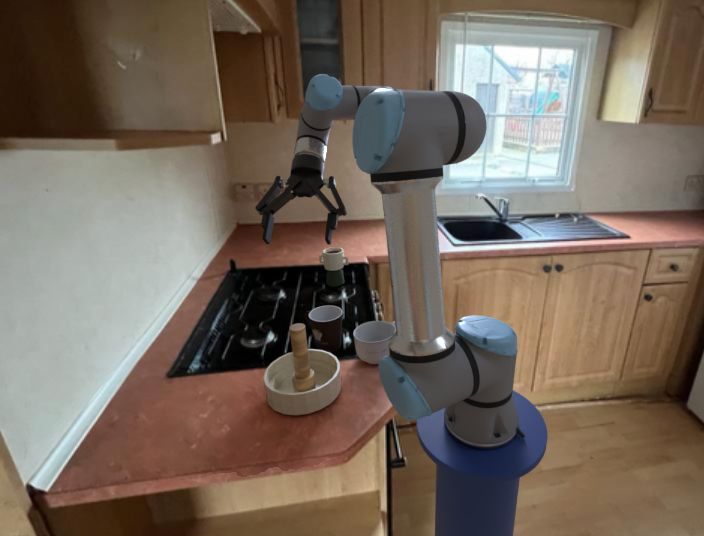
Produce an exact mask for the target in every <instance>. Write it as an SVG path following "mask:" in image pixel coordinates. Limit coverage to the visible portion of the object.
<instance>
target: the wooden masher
mask: <svg viewBox="0 0 704 536" xmlns="http://www.w3.org/2000/svg"><path fill="white" fill-rule="evenodd" d="M289 337H290V344H291V352H293V360H294V368H295V372H294V373H293V374H292V382H293V390H294V393H299V392H306V391H309V390H313V389H315V388H316V385H315V376H314V371H313V370H312V369H310V365H309V356H308V349H309V348H308V338H307V331H306V325H305V323H300V322H298V323H294V324H291V325H290V326H289Z"/></svg>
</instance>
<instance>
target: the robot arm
mask: <svg viewBox="0 0 704 536" xmlns="http://www.w3.org/2000/svg"><path fill="white" fill-rule="evenodd" d="M340 120H341V121H343V120H345V121H346V120H348V121H349V120H353V126H352V135H351V136H352V137H351V138H352V140H351V141H352V152H353V153H352V154H353V158H354V159H355V163H356V165H357V167H358V169H359V170H360V171H361V172H363V173H366V174H369V175H370V176H369V177H370V185H371V186H372V187H374V188H375V189H376V190H377V191H378V192H379V193H380V195H381V200H382V209H383V219H384V230H385V238H386V248H387V250H386V251H387V257H388V258H387V259H388V268H389V278H390V287H391V288H390V289H391V296H392V297H391V298H392V307H393V316H394V317H393V318H394V321H395V327H396V332H395V333H394V334H393V335H392V336H391V337H390V339H389V341H388V345H389V356H384V357H383V358H382V359H381V360H380V361H379V364H377V368H378V370H377V371H378V374H379V379H380V383H381V386H382V388H383V390H384V393H385V395H386V396H387V399H388V401H389V403H390V404H391V406H392V407H393V408H394V410H395V411H396V413H398V415H400V416H401V417H402V418H403V419H405V420H407V421H411V422H412V421H413V422H414V421H417V419H419V418H422V417H425V416H431V415H432V413H435V412H437V411H439V410H441V409H444V408H445V411H444V424H445V427H446V430H447V431H448V433H449V434H450V436H451V437H452V438H453V439H455V440H456V441H457V442H459V443H460V444H462V445H464V446H466V447H469V448H472V449H476V450H483V451H490V450H497V449H500V448H503V447H505V446H507V445H509V444H510V443H511V442H512V441H513V440H514V439H515V437H516V435H517V433H518V434H519V435H520V436H521V437H522V438H524V437H525V435H524V434H523V433H522V432H521V431H520V429H519V428H518V426H519V419H518V413H517V410H516V406H515V403H514V399H513V396H512V392H513V390H514V383H515V374H516V373H515V372H516V364H517V355H518V336H517V333H516V331H515V330H514V328H512V327H511V326H510V325H509V324H508V323H506V322H504V321H503V320H500V319H497V318H495V317H490V316H486V315H467V316H466V315H465V316H463V317H461V318H460V319H459V320H458V321H457V323H456V325H455V327H454V330H455V333H454V332H452V330H450V329H449V328H448V327H446V320H445V319H446V317H445V305H444V291H443V279H442V266H441V253H440V252H441V251H440V238H439V224H438V214H437V213H438V211H437V198H436V197H437V196H436V189H437V187H438V185H439V184H440V183H441V182H442V180H444V166H449V165H450V166H451V165H455V164H460V163H463V162H464V161H466V160H469V159H470V158H471V157H472V156H473V155H475V154H476V153H477V152H478V150H479V149H480V148H481V146H482V144H483V143H484V140H485V137H486V135H487V127H488V126H487V125H488V124H487V118H486V113H485V111H484V109H483V107H482V106H481V104H480V103H479V102H478V101H477V100H476V99H475V98H474V97H472V96H471V95H468V94H467V93H464V92H460V91H455V90H418V89H398V88H396V89H394V88H393V87H391V86H385V85H342V84H341V82H340V81H339V80H338V79H337V78H336V77H334V76H330V75H329V74H325V73H320V74H316V75H314V76H313V77H311V79H310V81H309V82H308V85H307V87H306V91H305V94H304V101H303V106H302V109H301V111H300V114H299V118H298V125H297V133H296V139H295V145H294V148H293V149H294V150H293V155H292V161H291V166H290V167H291V168H290V172H289V173H290V175H289V177H288V178H283V177H281V176H280V175H276V176H275V179H274V181H273V184H272V185H271V186H270V188H269V189H268V190H267V191H266V193H265V194H264V195H263V197H262V198H260V200H259V202H258V203H257V205H256V206H255V210H256V212H257V214H259V215H260V216H261V223H260V227H261V228H262V229H263V232H262V238H261V239H262V241H263V242H264V243H265V244H266V245H270V244H271V242H272V241H271V240H272V234H273V229H274V223H275V217H274V215H275V214H276V213H277V212H278V211H280V210H281V209H282V208H284V206H286V205H287V204H288V203H289V202H290V201H292V200H294V199H296V197H297V198H312V197H314V196H315V197H316V198H317V200H319V201H320V203H321V204H322V205H323V206H324V208H326V210H327V211H328V212H327V216H326V224H325V233H324V240H325V242H326V245H328V246H329V245H332V237H333V231H336V230H337V229H338V223H339V217H341V216H343V217H345V216H347V215H348V212H347V209H346V206H345V204H344V202H343V200H342V198H341V196H340V193H339V191H338V189H337V182H336V180H335V177H334V176H333V175H330V176H329V177H328V178H324V174H325V164H326V158H327V157H326V156H327V153H328V152H327V151H328V144H329V143H328V142H329V137H330V132H331V129H332V127H333V125H334V122H335V121H340ZM324 186H326V188H327V189H329V190H330V192H331V195H332V196H333V198H334V200H335V203H336V205H337V207H338V208H337V207H335V206H334V204H333V203H332V202H331V201H330V200H329V199H328V197H327V196H326V195H325V194H324V193H323V192H322V188H323V187H324ZM283 189H284V190H283ZM282 190H283V192H282Z"/></svg>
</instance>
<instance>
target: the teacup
mask: <svg viewBox="0 0 704 536" xmlns="http://www.w3.org/2000/svg"><path fill="white" fill-rule="evenodd" d="M395 332H396V327H395V320H393V321H392V322H389V321H384V320H372V321H366V322H363V323H361V324H360V325H358V326H357V327H356V328H355V329H354V330H353V333H352V335H353V336H352V337H353V340H354V341H353V342H354V348H355V353H356V355H357V357H358V358H359V359H360V360H361V361H363V362H365V363H366V364H370V365H379V361H380V360H381V359H382V358H383V357H384V356H389V345H388V341H389V339H390V337H391V336H392V335H393V334H394V333H395Z"/></svg>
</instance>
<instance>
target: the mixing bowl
mask: <svg viewBox="0 0 704 536" xmlns="http://www.w3.org/2000/svg"><path fill="white" fill-rule="evenodd" d="M308 356H309V365H310V369H312V370H313V371H314V376H315V385H316V388H315V389H313V390H309V391H306V392H299V393H294V390H293V382H292V374H293V373H294V372H295V368H294V360H293V352H292V351H291V352H288V353H285V354H283V355H281V356H279V357H278V358H276V359H274V360H273V361H272V362H271V363H270V364H269V365H268V366H267V368H266V369H265V370H264V373H263V376H262V380H263V386H264V392H265V397H266V401H267V405H269V407H270V408H271V409H272V410H273V411H275V412H278V413H280V414H282V415H288V416H302V415H309V414H312V413H315V412H318V411H320V410H322V409H324V408H326V407H327V406H329V405H331V404H332V403H333V402H334V401H335V400H336V399H337V398H338V396H339V395H340V392H341V390H342V374H341V372H342V371H341V363H340V361H339V359H338V357H337V356H336V355H334V354H333V353H330V352H326V351H323V350H317V348H316V349H315V348H308Z"/></svg>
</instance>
